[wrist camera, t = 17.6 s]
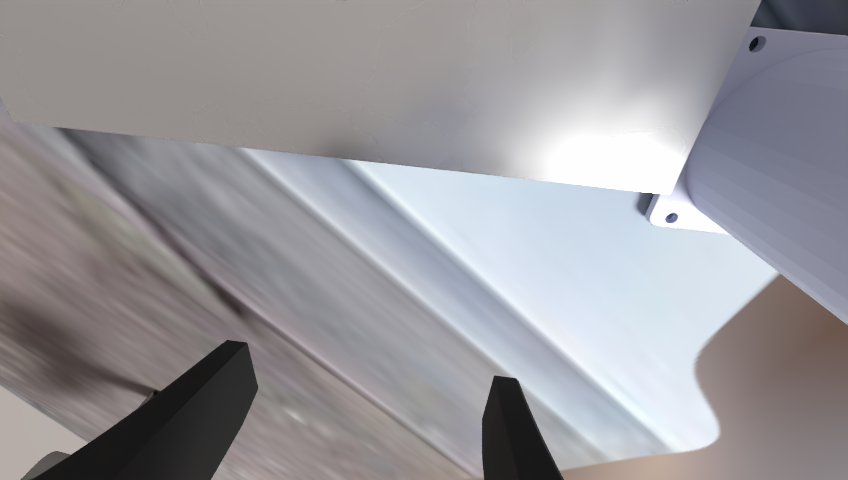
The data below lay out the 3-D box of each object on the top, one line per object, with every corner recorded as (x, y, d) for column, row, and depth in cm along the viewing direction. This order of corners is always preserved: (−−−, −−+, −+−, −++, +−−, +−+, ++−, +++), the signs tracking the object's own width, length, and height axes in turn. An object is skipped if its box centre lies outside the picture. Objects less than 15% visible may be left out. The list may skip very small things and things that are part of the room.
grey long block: (658, -33, 12) (798, -78, 7) (600, 139, 15) (670, 194, 10) (106, -81, 13) (-123, -153, 8) (155, 92, 16) (13, 122, 11)
